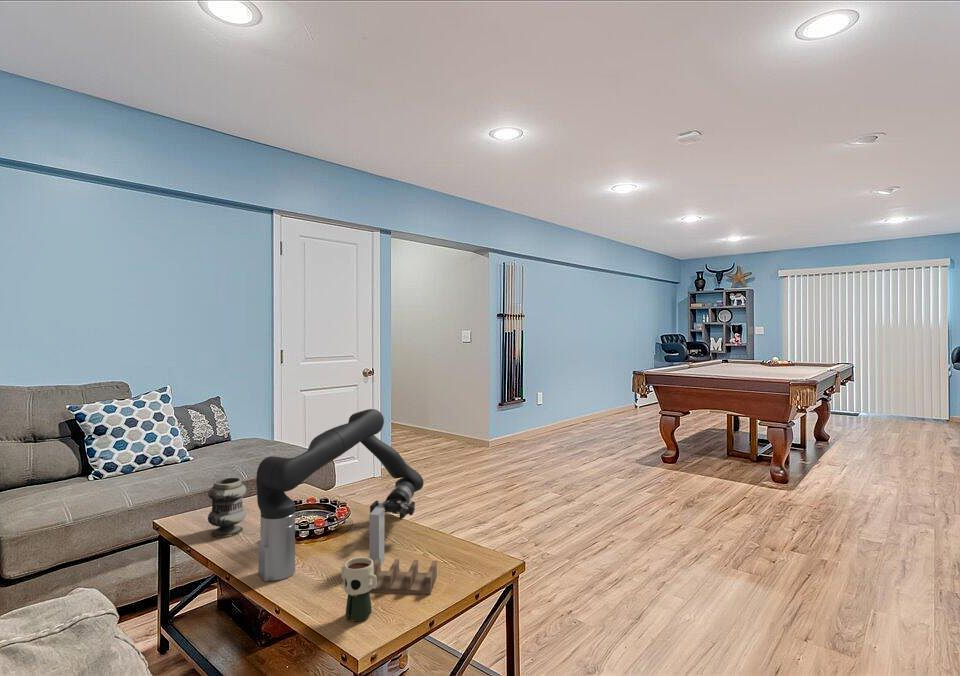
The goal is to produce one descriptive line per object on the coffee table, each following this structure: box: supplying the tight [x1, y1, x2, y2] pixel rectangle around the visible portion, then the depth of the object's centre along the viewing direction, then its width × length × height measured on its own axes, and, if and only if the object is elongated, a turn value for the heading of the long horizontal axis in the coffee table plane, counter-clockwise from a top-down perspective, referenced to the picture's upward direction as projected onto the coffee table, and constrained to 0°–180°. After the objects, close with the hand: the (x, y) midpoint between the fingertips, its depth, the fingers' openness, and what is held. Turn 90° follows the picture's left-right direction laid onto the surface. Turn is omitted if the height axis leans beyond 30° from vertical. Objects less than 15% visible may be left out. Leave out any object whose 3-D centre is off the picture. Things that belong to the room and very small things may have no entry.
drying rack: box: [369, 558, 438, 595], centre depth 144 cm, size 10×17×4 cm, turn 85°
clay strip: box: [368, 508, 385, 566], centre depth 155 cm, size 6×3×16 cm, turn 175°
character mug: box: [340, 556, 377, 622], centre depth 127 cm, size 11×7×13 cm, turn 61°
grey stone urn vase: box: [207, 476, 248, 538], centre depth 180 cm, size 12×12×18 cm
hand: (387, 515), depth 167 cm, fingers open, 8 cm apart
